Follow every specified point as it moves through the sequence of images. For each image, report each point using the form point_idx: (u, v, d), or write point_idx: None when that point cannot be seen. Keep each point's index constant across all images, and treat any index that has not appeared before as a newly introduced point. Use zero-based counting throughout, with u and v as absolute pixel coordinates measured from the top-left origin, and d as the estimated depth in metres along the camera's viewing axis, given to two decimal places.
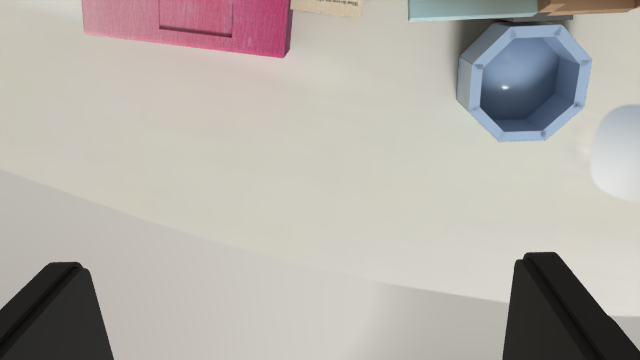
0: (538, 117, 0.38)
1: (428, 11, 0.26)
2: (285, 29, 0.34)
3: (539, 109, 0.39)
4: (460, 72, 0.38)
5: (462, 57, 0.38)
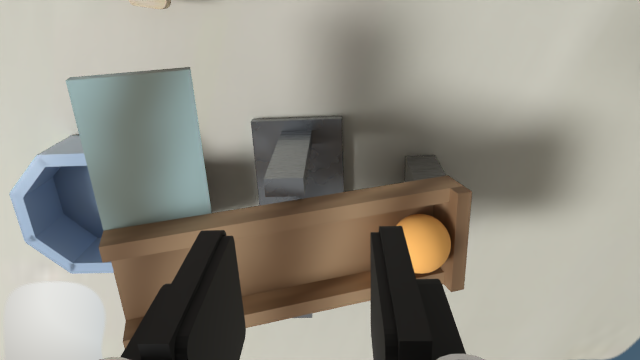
0: (61, 228, 0.33)
1: (79, 103, 0.20)
2: None
3: (75, 226, 0.34)
4: None
5: None
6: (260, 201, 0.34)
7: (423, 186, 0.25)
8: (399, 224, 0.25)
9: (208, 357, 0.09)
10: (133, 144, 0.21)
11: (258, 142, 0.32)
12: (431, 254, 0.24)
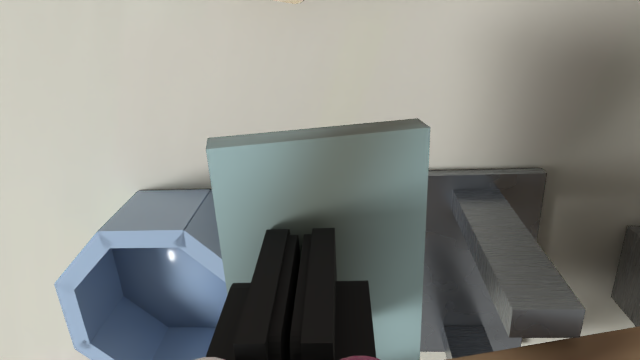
0: (122, 320, 0.23)
1: (226, 190, 0.10)
2: None
3: (140, 314, 0.25)
4: (181, 196, 0.22)
5: (205, 198, 0.22)
6: None
7: None
8: None
9: (289, 357, 0.09)
10: None
11: None
12: None
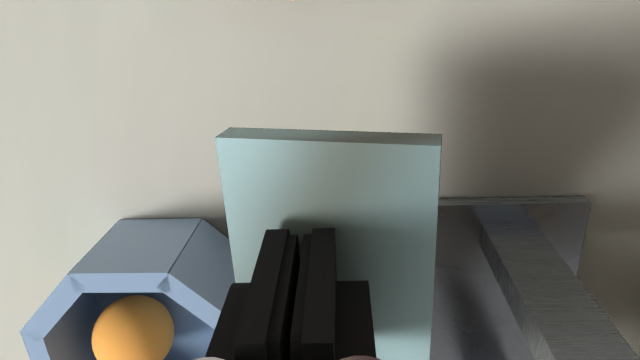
0: None
1: (232, 178, 0.11)
2: None
3: None
4: (168, 227, 0.19)
5: (195, 229, 0.19)
6: None
7: None
8: (153, 314, 0.19)
9: (289, 357, 0.09)
10: None
11: (436, 239, 0.19)
12: None
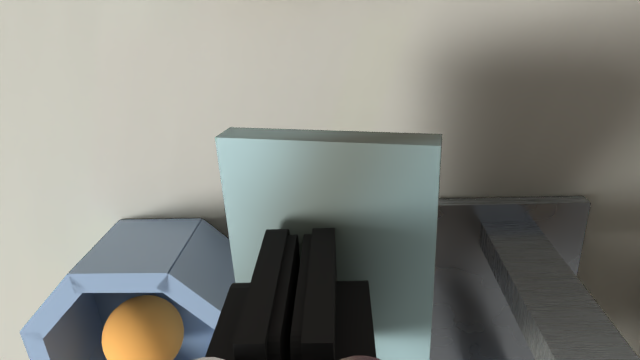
0: None
1: (232, 178, 0.11)
2: None
3: None
4: (168, 227, 0.19)
5: (195, 229, 0.19)
6: None
7: None
8: (166, 310, 0.19)
9: (289, 357, 0.09)
10: None
11: (436, 239, 0.19)
12: None
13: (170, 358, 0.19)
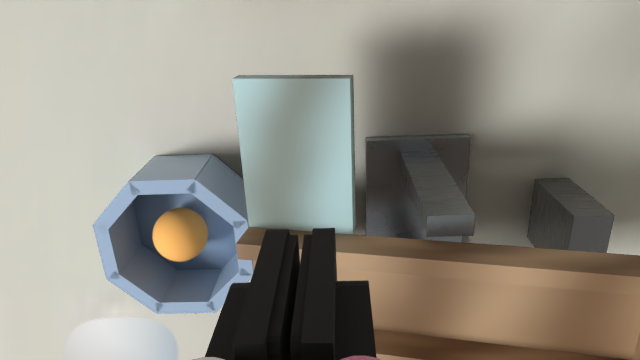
0: (141, 261, 0.29)
1: (241, 102, 0.20)
2: None
3: (154, 258, 0.30)
4: (190, 159, 0.28)
5: (209, 159, 0.28)
6: (367, 229, 0.30)
7: (634, 266, 0.18)
8: (196, 213, 0.28)
9: (289, 357, 0.09)
10: (284, 148, 0.20)
11: (372, 164, 0.28)
12: None
13: (204, 244, 0.28)
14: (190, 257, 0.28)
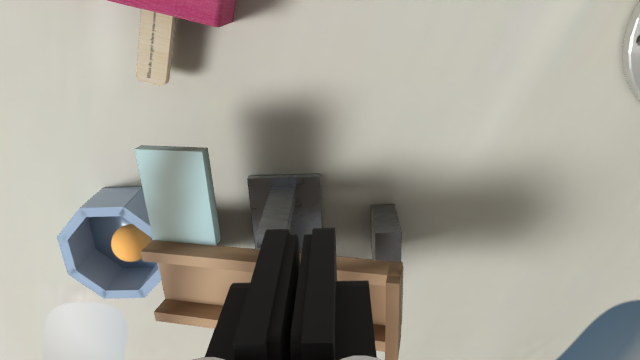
0: (94, 261, 0.42)
1: (141, 163, 0.32)
2: (111, 0, 0.31)
3: (105, 259, 0.43)
4: (126, 190, 0.40)
5: (139, 191, 0.40)
6: (255, 239, 0.42)
7: (370, 267, 0.30)
8: None
9: (289, 357, 0.09)
10: (169, 191, 0.33)
11: (253, 194, 0.40)
12: None
13: None
14: None
